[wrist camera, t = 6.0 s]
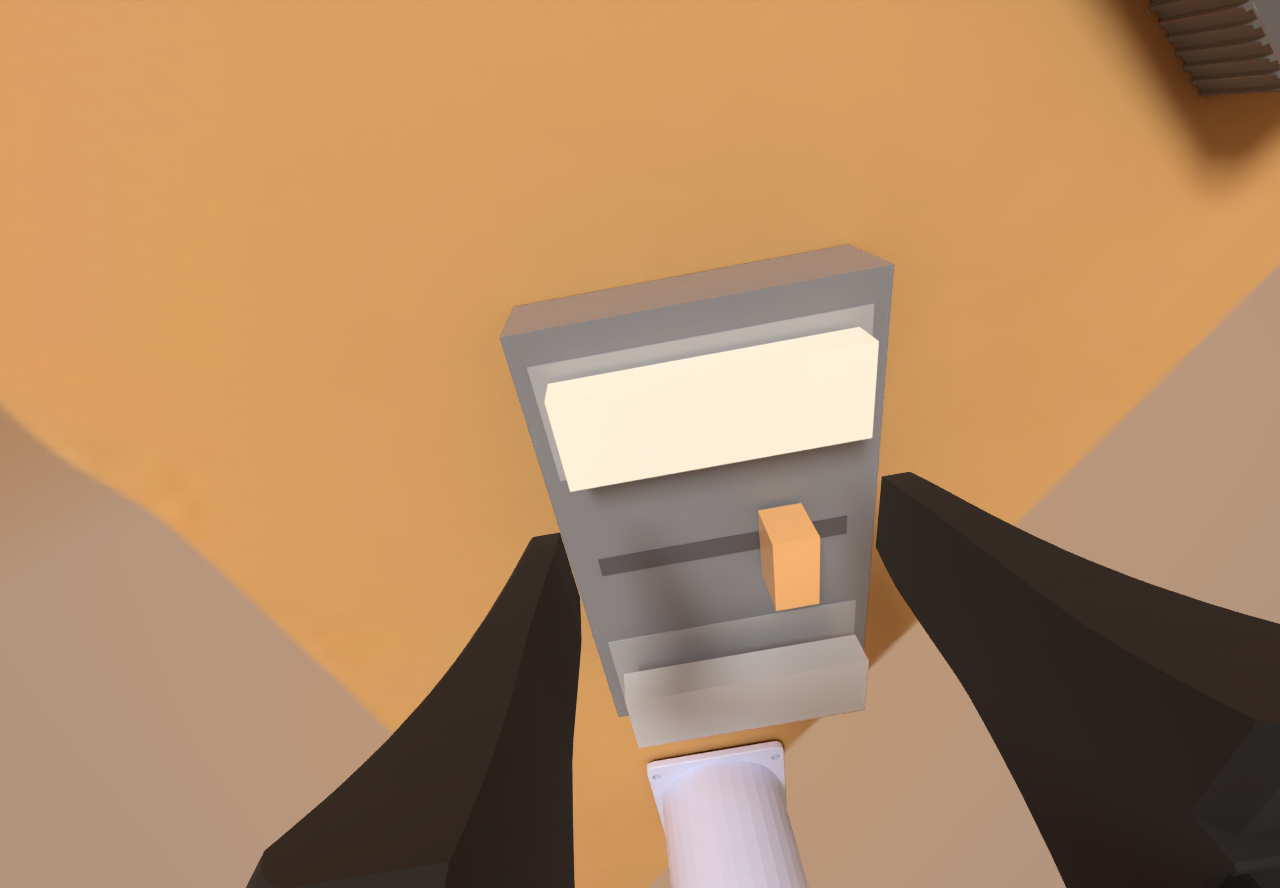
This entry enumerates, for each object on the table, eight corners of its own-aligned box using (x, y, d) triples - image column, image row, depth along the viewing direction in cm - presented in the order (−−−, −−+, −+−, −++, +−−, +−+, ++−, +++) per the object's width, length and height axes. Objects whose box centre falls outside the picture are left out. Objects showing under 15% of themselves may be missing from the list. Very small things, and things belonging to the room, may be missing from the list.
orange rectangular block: (802, 566, 20) (819, 603, 18) (761, 573, 20) (776, 611, 18) (801, 503, 18) (820, 537, 17) (757, 510, 18) (772, 545, 17)
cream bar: (854, 418, 17) (872, 437, 16) (571, 469, 17) (570, 492, 16) (859, 327, 15) (878, 341, 14) (547, 383, 15) (544, 402, 14)
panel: (835, 622, 26) (862, 676, 24) (616, 660, 27) (618, 718, 24) (848, 244, 17) (894, 264, 14) (513, 306, 17) (499, 337, 15)
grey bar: (852, 683, 22) (864, 710, 21) (636, 719, 22) (638, 748, 21) (855, 634, 20) (868, 661, 19) (623, 674, 21) (625, 702, 20)
